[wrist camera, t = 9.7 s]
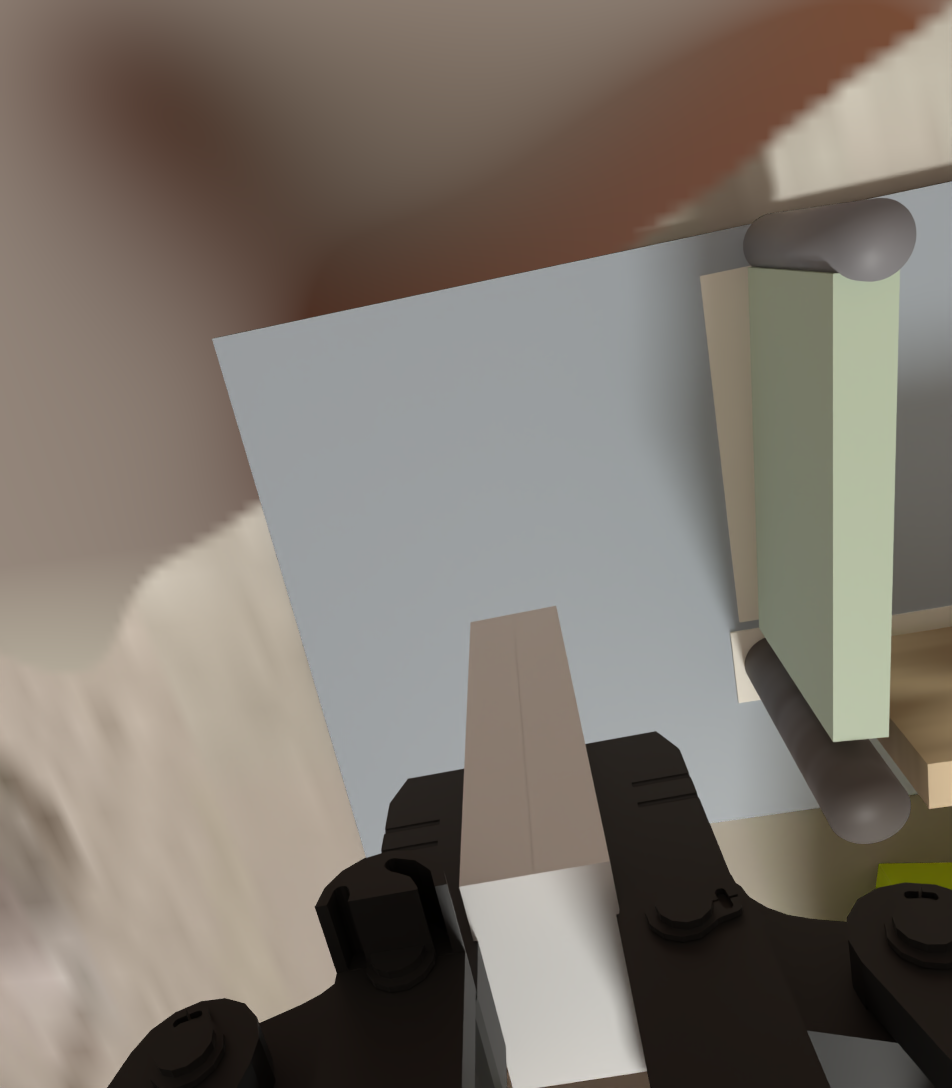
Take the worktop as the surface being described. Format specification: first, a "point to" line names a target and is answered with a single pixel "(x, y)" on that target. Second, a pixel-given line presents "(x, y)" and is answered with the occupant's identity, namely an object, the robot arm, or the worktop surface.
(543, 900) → the robot arm
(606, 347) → the card
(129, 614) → the worktop surface
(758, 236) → the fence panel
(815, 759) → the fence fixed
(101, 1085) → the worktop surface
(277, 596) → the worktop surface
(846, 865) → the worktop surface
